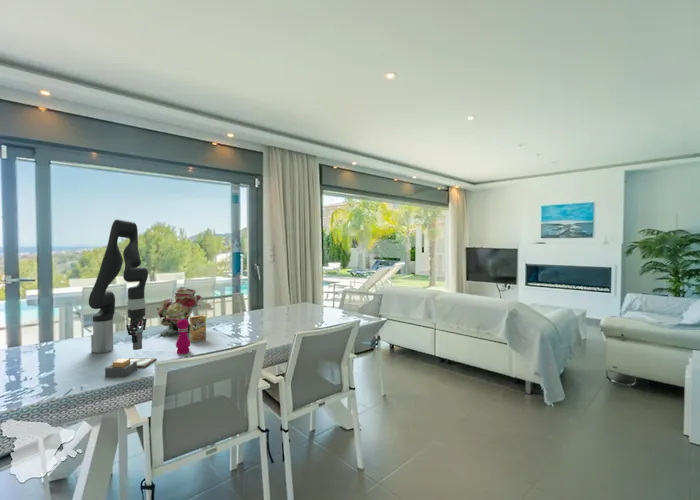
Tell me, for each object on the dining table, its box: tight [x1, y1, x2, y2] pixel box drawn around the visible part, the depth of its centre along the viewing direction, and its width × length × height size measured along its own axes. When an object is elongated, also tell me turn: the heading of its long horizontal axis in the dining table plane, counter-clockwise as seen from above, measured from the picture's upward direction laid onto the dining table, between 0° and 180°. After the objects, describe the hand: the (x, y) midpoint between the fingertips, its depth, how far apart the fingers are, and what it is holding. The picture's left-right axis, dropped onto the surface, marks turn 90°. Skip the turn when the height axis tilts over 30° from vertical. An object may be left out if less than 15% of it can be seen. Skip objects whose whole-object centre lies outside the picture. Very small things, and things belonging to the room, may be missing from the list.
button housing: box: [104, 361, 138, 378], centre depth 164 cm, size 9×9×4 cm
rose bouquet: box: [156, 286, 202, 338], centre depth 235 cm, size 26×29×30 cm
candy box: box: [189, 314, 207, 343], centre depth 216 cm, size 9×4×15 cm, turn 125°
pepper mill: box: [175, 317, 191, 355], centre depth 194 cm, size 7×7×20 cm
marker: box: [132, 328, 143, 351], centre depth 176 cm, size 4×4×10 cm
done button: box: [111, 358, 130, 367], centre depth 164 cm, size 5×5×4 cm
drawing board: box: [128, 357, 157, 369], centre depth 176 cm, size 14×11×1 cm
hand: (137, 341), depth 176 cm, fingers closed on marker, 4 cm apart
